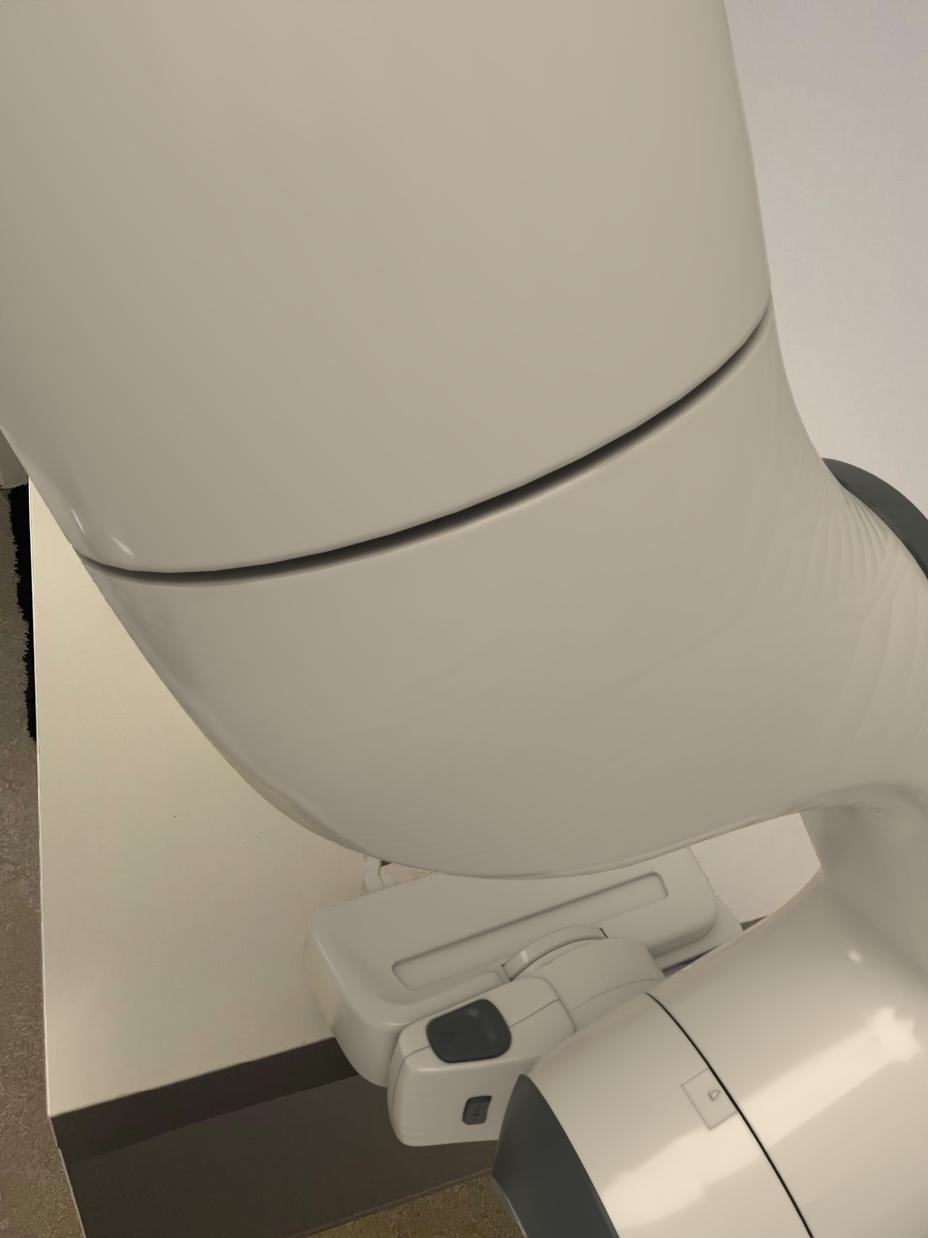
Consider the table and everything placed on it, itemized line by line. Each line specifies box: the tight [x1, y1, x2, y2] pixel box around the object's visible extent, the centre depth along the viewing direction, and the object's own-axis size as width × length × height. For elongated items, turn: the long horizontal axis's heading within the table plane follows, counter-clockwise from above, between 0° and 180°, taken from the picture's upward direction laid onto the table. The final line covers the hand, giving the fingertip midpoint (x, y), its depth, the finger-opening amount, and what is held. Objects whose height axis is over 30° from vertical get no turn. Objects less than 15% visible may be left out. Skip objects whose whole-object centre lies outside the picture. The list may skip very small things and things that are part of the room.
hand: (452, 806), depth 49 cm, fingers open, 8 cm apart
